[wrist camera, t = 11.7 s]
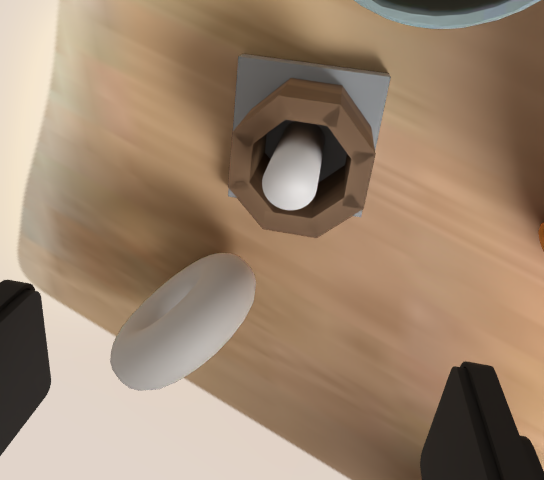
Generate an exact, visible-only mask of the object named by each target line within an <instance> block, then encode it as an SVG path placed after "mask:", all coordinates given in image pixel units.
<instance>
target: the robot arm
mask: <svg viewBox="0 0 544 480" xmlns="http://www.w3.org/2000/svg"><path fill="white" fill-rule="evenodd" d="M50 385H51V375H50V367H49V359H48V350H47V342H46V334H45V327H44V318H43V310H42V301H41V296H40V293H39V292H37V291H35V288H34V287H33V285H31V284H29V283H23V282H18V281H12V280H4V281H2V282H0V456H1V454H2V453H3V452H4V450H5V449H6V448H7V446H8V445H9V444H10V443H11V441H12V440H13V439H14V437H15V436H16V435H17V433H18V432H19V431H20V429H21V428H22V427H23V425H24V424H25V423H26V422H27V420H28V419H29V417H30V416H31V415H32V414H33V412H34V411H35V410H36V408H37V407H38V406H39V404H40V403H41V402H42V401H43V399H44V398H45V396H46V395H47V393H48V391H49V388H50ZM420 468H421V476H422V480H544V471H543V469H542V466H541V464H540V461H539V459H538V456H537V454H536V451H535V449H534V447H533V445H532V443H531V441H530V440H529V439H528V438H527V437H524V436H519V433H518V430H517V428H516V425H515V422H514V420H513V417H512V414H511V412H510V409H509V407H508V404H507V401H506V399H505V396H504V393H503V391H502V388H501V385H500V383H499V380H498V377H497V375H496V372H495V370H494V368H493V367H492V366H488V365H483V364H477V363H472V362H466V361H465V362H463V363H462V364H461V366H460V367H453V368H452V369H451V372H450V374H449V377H448V380H447V383H446V386H445V388H444V391H443V394H442V397H441V400H440V402H439V405H438V408H437V411H436V414H435V416H434V419H433V422H432V425H431V428H430V430H429V433H428V436H427V439H426V442H425V444H424V447H423V450H422V454H421V461H420Z"/></svg>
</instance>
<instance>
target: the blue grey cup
mask: <svg viewBox="0 0 544 480" xmlns="http://www.w3.org/2000/svg"><path fill="white" fill-rule="evenodd" d="M354 1H356V2H357V3H358V4H360V5H361V6H363V7H365V8H367V9H369V10H371V11H373V12H374V13H376V14H378V15H380V16H382V17H384V18H386V19H389V20H392V21H396V22H399V23H402V24H406V25H411V26H415V27H423V28H431V29H453V28H465V27H469V26H474V25H478V24H482V23H487V22H491V21H496V20H499V19H501V18H504V17H507V16H509V15H512V14H514V13H517V12H519V11H522V10H524V9H526V8H528V7H529V6H531V5H533V4H535V3H537V2H539V1H540V0H354Z"/></svg>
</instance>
